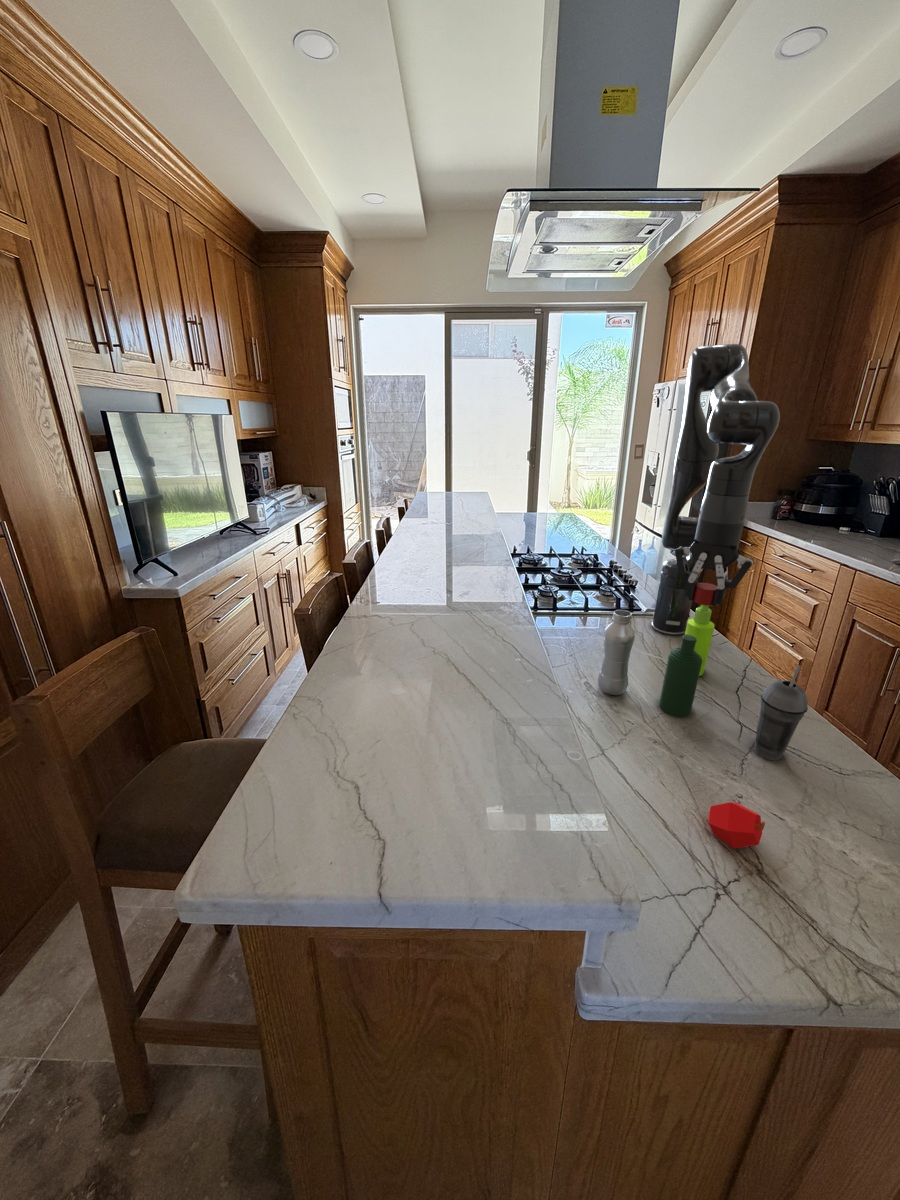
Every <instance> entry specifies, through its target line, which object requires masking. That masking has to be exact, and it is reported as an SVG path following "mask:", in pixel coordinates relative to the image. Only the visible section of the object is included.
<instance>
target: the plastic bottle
mask: <svg viewBox="0 0 900 1200" xmlns="http://www.w3.org/2000/svg"><path fill="white" fill-rule="evenodd" d="M632 616H633V614H632V612H631V611H629V610H626V609H616V610H614V611H613V614H612V618H611V621H612V622H611V623H609V624H608V625H607V626H606V627H605V629H604V631H603V659H602V664H601V668H600V671H599V674H598V677H597V685H598V687H599V689H600V690H601V691H602V692H603V693H605V694H607V695H610V696H611V695H612V696H619V695H622V694H624V693H625V692H626V691H627V690H628V686H629V674H628V673H629V661H630V657H631V651H632V648H633V646H634V642H635V639H636V635H635V631H634V629H633V627H632V625H631V623H632Z"/></svg>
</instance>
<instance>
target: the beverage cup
mask: <svg viewBox="0 0 900 1200" xmlns="http://www.w3.org/2000/svg"><path fill="white" fill-rule="evenodd" d="M800 669H801V665H800V664H797V665H796V667H795V670H794V673H793V675H792V677H791V680H784V679H783V680H781V679H780V680H776V681H774V682H772V683H771V682H770V684H768V685H767V686H766V687H765V689H764V690H763V692H762V693H761V695H760V711H759V717H758V723H757V729H756V734H755V740H754V742H755V743H754V751H755V753H756V754H758V755H759V756H760V757H762V758H764V759H767V760H770V761H779V760H781V759H782V758H783V757H782V756H783V755H784V753H786V750H787V748H788V746H789V744H790V742H791V739H792V737H793V735H794V733H795V731H796V729H797V728H798V727H797V726H798V725H799V723H800V721H801V720H802V719H803V717H804V715H805V713H807V712H808V710H809V709H808V706H809V700H808V696H807V693H806V692H805V690H804V689H803V688H802V687H801V686H800V685H799V684H797V683H795V682H796V678H797V676H798V674H799V671H800Z"/></svg>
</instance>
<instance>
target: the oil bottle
mask: <svg viewBox="0 0 900 1200" xmlns="http://www.w3.org/2000/svg"><path fill="white" fill-rule="evenodd" d="M696 641H697V640H696V638H695V637H694V636H691V635H685V634H683V636H682V637H681V643H680V647H677V648H674V649H671V650H670V652H669V653H668V657H667V663H666V668H665V671H664V672H665V673H664V677H663V681H662V682H663V683H662V688H661V691H660V692H661V693H660V698H659V702H658V706H659V709H660V710H661V711H662V712H664V713H665V714H668V715H669V716H671V717H675V718H686V717H688V716H690V715H691V712H692V708H693V704H694V699H695V695H696V691H697V686H698V681H699V677H700V676H699V673H700V669H701V665H702V658H701V656H700V655H699V654H698V653H697V652H696V651H695V650H694V648H695V644H696Z"/></svg>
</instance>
